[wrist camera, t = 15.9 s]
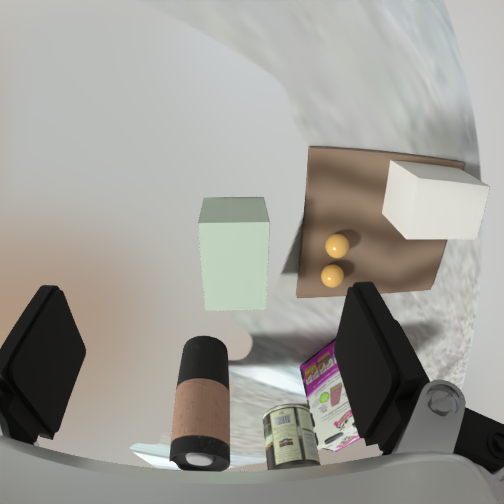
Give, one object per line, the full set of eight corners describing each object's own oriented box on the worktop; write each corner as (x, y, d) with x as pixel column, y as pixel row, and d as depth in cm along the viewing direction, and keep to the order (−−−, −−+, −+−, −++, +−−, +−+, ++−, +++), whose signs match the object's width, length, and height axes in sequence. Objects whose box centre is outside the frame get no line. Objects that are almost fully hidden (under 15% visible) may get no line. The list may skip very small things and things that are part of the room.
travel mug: (237, 343, 50) (241, 459, 32) (218, 370, 53) (217, 477, 36) (191, 328, 48) (178, 447, 30) (175, 357, 51) (162, 466, 34)
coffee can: (283, 431, 66) (290, 485, 54) (252, 418, 62) (256, 477, 50) (320, 413, 63) (332, 469, 50) (290, 397, 58) (300, 460, 46)
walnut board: (308, 146, 35) (310, 148, 34) (460, 161, 36) (464, 163, 35) (296, 293, 45) (297, 298, 44) (427, 286, 46) (430, 289, 46)
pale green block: (203, 197, 38) (198, 223, 32) (263, 197, 38) (269, 222, 32) (208, 276, 43) (205, 310, 37) (261, 275, 43) (265, 309, 37)
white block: (381, 213, 39) (406, 239, 33) (390, 159, 35) (418, 178, 29) (448, 215, 39) (475, 239, 33) (458, 168, 36) (490, 186, 30)
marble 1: (324, 229, 39) (330, 241, 37) (346, 229, 40) (354, 240, 37) (321, 250, 41) (327, 263, 38) (343, 250, 41) (350, 262, 38)
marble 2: (320, 260, 42) (325, 273, 39) (341, 259, 42) (348, 272, 39) (317, 279, 43) (322, 292, 40) (338, 278, 43) (344, 291, 41)
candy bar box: (317, 375, 55) (335, 453, 41) (298, 365, 53) (314, 448, 39) (364, 339, 51) (396, 418, 37) (347, 327, 50) (378, 411, 35)
